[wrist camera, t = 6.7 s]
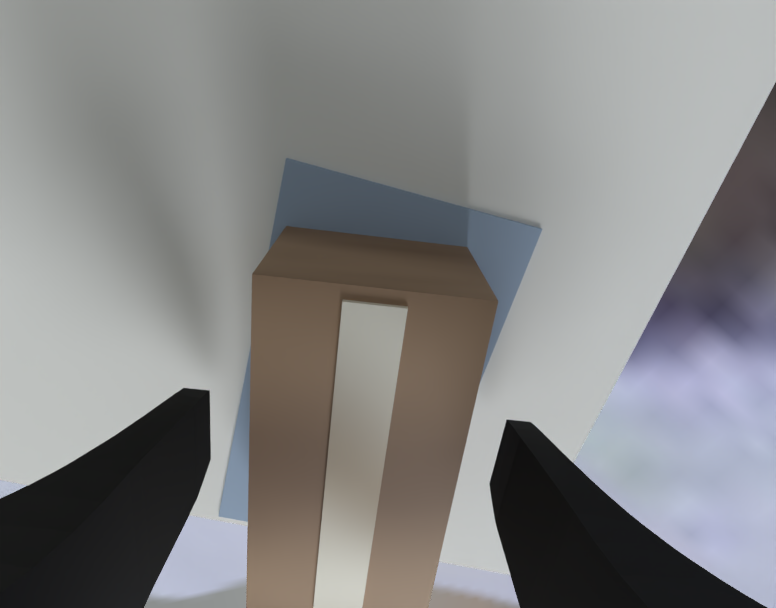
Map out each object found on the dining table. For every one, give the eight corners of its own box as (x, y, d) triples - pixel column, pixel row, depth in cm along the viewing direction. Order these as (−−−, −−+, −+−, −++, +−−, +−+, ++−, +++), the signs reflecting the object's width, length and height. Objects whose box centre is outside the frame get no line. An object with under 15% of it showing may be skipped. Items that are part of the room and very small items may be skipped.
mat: (857, -113, 10) (890, -128, 9) (509, 560, 18) (514, 578, 17) (-222, -543, 8) (-275, -600, 7) (-94, 445, 15) (-115, 461, 15)
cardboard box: (415, 516, 16) (424, 627, 12) (274, 504, 15) (245, 616, 12) (467, 247, 12) (499, 302, 9) (286, 226, 12) (250, 276, 9)
